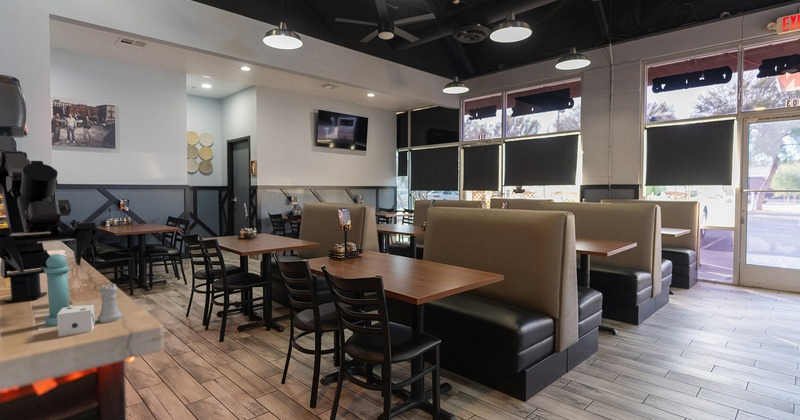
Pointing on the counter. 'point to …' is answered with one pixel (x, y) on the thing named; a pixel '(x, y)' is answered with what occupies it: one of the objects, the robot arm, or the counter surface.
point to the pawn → (56, 287)
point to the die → (76, 320)
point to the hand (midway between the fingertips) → (51, 267)
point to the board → (43, 315)
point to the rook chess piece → (109, 304)
